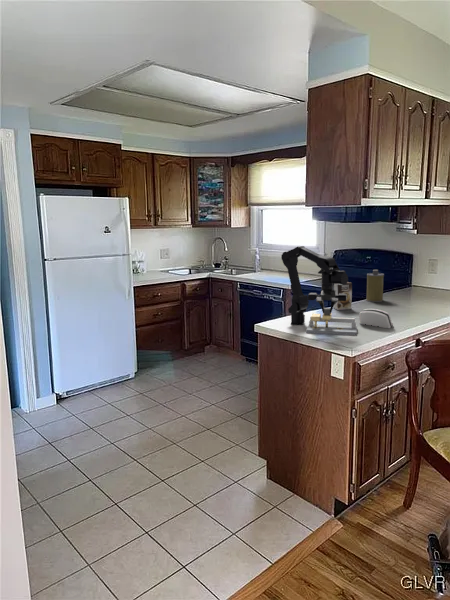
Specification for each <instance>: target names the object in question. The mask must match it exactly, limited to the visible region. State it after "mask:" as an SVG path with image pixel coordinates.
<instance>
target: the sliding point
mask: <svg viewBox="0 0 450 600" xmlns="http://www.w3.org/2000/svg"><path fill="white" fill-rule="evenodd" d="M330 308H331V307H324V314H323V313H322V315H321V317H322V320H326V322H325V325H326V327H328V325H329V322H328V320H331V317H333V316H332V314H333V313H332V312H331V314H330Z"/></svg>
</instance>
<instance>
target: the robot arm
mask: <svg viewBox="0 0 450 600" xmlns="http://www.w3.org/2000/svg"><path fill="white" fill-rule="evenodd" d="M300 257H303V258H305V259H308V260H309V261H311V262H313V263H314V264H316V266H317V267H318V268H320V270H319V271H318V272H317V274H319V275H321V290H320V294H318V293H317V292H309V293H308V295H307V294H306V295H305V294H304V293H303V291H302V290H303V289H302V285H301V281H300V277H299V271H298V268H297V266H298V263H299V258H300ZM281 261H282V263H283V266H285V268H286V269H287V273H288V277H289V281H290V286H291V291H292V298H291V304H290V305H291V306H290V307H288V309H287V310H288V313H289V314H290V315H291V316H290V318H291V319H290V320H291V321H290V325H295V326H296V325H299V326H301V325H302V326H303V325H304V323H305V322H306V315H305V312H306V311H307V309H308V307H309V303H310V301H315V300H316V303H318V304H319V306H320V308H321V311H322V315H323V314H324V308H325V304H324V303H325V302H324V301H331V302H330V303H331V304H330V307H329V308H330V314H331V313H332V311H333V309H334V304H335V302H338V300H339V301H346V300H347V294H343V293H339V294H338V295H336V293H335V290H334V284H339V285H346V284H347V282H349V275H348V274H347V273H346V270H341V269H340V268H339V266H338V264H337V263H336V259H335V258H334V257H333V256H332V257H331V256H327V255H322V254H319V253H318V252H315V251H313V250H311V249H309V248H308V247H305V246H304V245H299V246H295V247H294V248H292V249H290V250H287V251H284V252H282V254H281Z"/></svg>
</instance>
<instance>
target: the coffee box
mask: <svg viewBox="0 0 450 600" xmlns="http://www.w3.org/2000/svg"><path fill="white" fill-rule="evenodd" d="M333 290H335V293H336V295H338V294H339V293H343V294H347V300H346V301H339V300H338V302H335V304H334V306H333V309H335V310H337V311H341V310H351V309H352V303H353V302H352V298H353V295H352V294H353V283H352V282H351V281H350V282H349V281H348V282H347V284H346V285H339V284H333Z"/></svg>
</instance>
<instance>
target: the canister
mask: <svg viewBox="0 0 450 600" xmlns="http://www.w3.org/2000/svg"><path fill="white" fill-rule="evenodd" d="M384 277H385V273H381V272H379V269H372V272H369V273H367V274H366V298H365V299H366V300H365V301H367V302H371V303H380V302H381V303H382V302H383V301H384Z"/></svg>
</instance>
